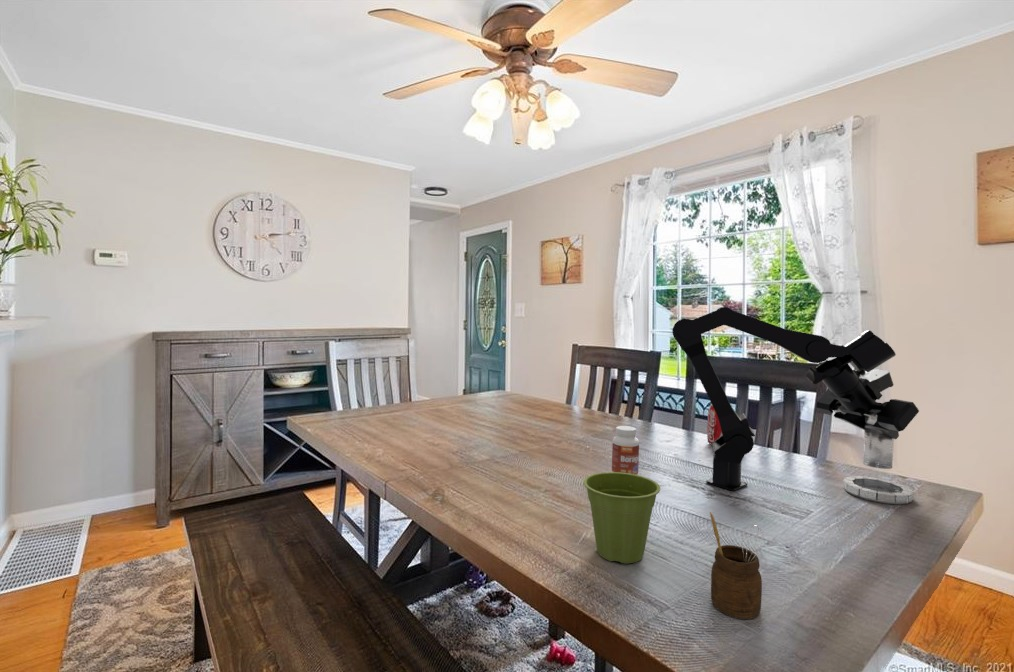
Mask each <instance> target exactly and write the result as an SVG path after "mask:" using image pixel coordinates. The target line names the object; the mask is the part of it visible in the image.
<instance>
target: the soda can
mask: <svg viewBox="0 0 1014 672" xmlns="http://www.w3.org/2000/svg"><path fill="white" fill-rule="evenodd" d="M731 406H732V407H733V405H732V404H731ZM706 428H707V431H706V433H707V434H706V435H707V436H706V437H707V443H709V444H710V445H711V447H713V442H714V441H716V440H717V439H718V438H719V437H721V436H722V431H721V427H720V424H719V420H718V416H717V414H716V412H715V410H714V408H713V406H712V404H711V403H710V407H709V408H708V411H707V427H706Z"/></svg>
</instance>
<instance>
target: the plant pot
mask: <svg viewBox="0 0 1014 672" xmlns="http://www.w3.org/2000/svg"><path fill="white" fill-rule="evenodd" d="M582 483H583V485H584V487H585V488H586V490H587V498H588V501H589V504H590V511H591V517H592V523H593V524H592V525H593V532H594V539H595V545H596V552H597V553H598V554H599V555H600V557H602V558H603V559H605V560H607V561H610V562H614V561H615V562H620V563H621V564H633V563H637V562H639V561H641V560H642V559H643V557H644V554H645V550H646V544H647V538H648V534H649V533H648V532H649V527H650V522H651V517H652V513H653V508H654V507H655V503H656V499H657V498H656V497H657V495H658V494H659V493H660V492H661V485H660V484H659V483H658V482H656V481H655V480H653V479H652V478H649V477H645V476H642V475H639V474H638V475H634V474H629V473H619V472H612V471H608V472H607V471H606V472H596V473H593V474H592V473H591V474H590V475H587V476H586V477H584V479H583V481H582Z"/></svg>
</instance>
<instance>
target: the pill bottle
mask: <svg viewBox="0 0 1014 672" xmlns="http://www.w3.org/2000/svg"><path fill="white" fill-rule="evenodd" d="M615 434H616V436H614V437H613V439H612V447H611V448H612V449H611V450H612V451H611V452H612V453H611V472H619V473H629V474H634V475H639V466H640V465H639V463H640V461H639V459H640V456H639V455H640V440H639V439H638V438H637V437H636V436H637V428H636V427H633V426H629V425H618V426H616V427H615Z"/></svg>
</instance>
